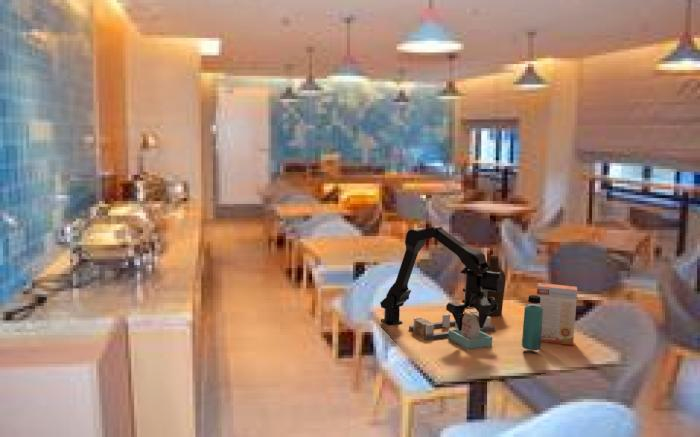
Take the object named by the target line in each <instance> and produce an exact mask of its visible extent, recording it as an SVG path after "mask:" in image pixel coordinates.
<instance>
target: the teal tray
mask: <svg viewBox="0 0 700 437" xmlns="http://www.w3.org/2000/svg"><path fill="white" fill-rule="evenodd" d="M448 332H449V337H447V338H448V339H447V340H449V339H450V341H451V342H453V343H455V344H457V345H458V344H459V346H460V347H462V348H463V349H466V350H467V351H470V350H475V349H484V348H491V347H492V346H493V336H491V335H489V334H487V333H486V332H484V333H483V332H481V331H479V338H477V339H470V340H469V339H467V338H465V337H464V336H462V335H460V334H459V333H460V331H459V329H455V328H452V329H448Z"/></svg>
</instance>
